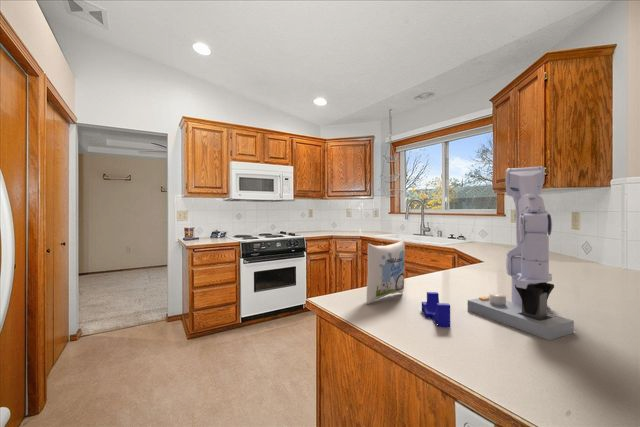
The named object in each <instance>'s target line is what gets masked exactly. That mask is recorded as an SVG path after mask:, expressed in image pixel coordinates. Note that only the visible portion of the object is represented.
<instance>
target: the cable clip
mask: <svg viewBox="0 0 640 427" xmlns="http://www.w3.org/2000/svg"><path fill="white" fill-rule="evenodd" d="M439 296H440V295H439V293H438V291H426V301H421V312H422V314H423V315H424V316H425V318H426V319H432V320H433V322H434V321H435V322H434V323H435V324H438V325H436V326H437V328H449V327H450V328H451V304H449V302H448V303H443V302H442V303H441V302H440V299H439V298H440V297H439Z"/></svg>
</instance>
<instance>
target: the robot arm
mask: <svg viewBox="0 0 640 427" xmlns="http://www.w3.org/2000/svg"><path fill="white" fill-rule="evenodd" d="M545 175H546V174H545V168H544V167H543V166H542V165H539V166H529V167H515V168H510V167H509V168H506V169H505V192H506V195H507V196H508V197H511V198H512V199H513V201H514V206H515V238H516V239H515V241H516V246H514V247H512V248H510V249H509V250H508V251H507V253H506V261H505V262H506V263H505V265H506V274H507V275H508V276H510V277H511V301H509V302H512V303H515V304H519V305H522V303H523V306H524V310H525V313H528V314H532V315H535V314H536V312H537V306H538V301H539V297H540V295H541V293H542V292H547V300H548V299H549V297H550V294H551V293H552V290H554V288H555V284H553V283H550V282H552V281H553V274H552V273H550V272H549V270H550V269H549V268H550V264H549V262H550V260H549V259H550V256H549V255H550V252H549V251H550V247H549V246H550V245H549V242H550V237H551V234H552V230H553V220H552V215H551V213H550V212H549V211H548V210H546V206H545V202H544V199H543V197H542V196H541V195H540V194H541V193H542V191H543V185H544V183H545V178H546V177H545ZM550 308H551V306H550V305H548V304H547V309H550Z"/></svg>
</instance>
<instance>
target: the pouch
mask: <svg viewBox="0 0 640 427" xmlns="http://www.w3.org/2000/svg"><path fill="white" fill-rule="evenodd" d="M405 252H406V245H405V239H402V240H400V241H397V242H396V243H391V244H388V245H373V244H371V243H367V256H366V257H367V262H366V263H367V277H366V278H367V279H366V305H370V304H371V303H373V302H375V301H376V300H378V299H381V298H384V297H386V296H389V295H390V294H391V295H392V294H397V293H398V294H403V293H404V291H405V261H406V260H405V259H406V258H405V257H406V255H405Z"/></svg>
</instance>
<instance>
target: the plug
mask: <svg viewBox="0 0 640 427" xmlns="http://www.w3.org/2000/svg"><path fill="white" fill-rule="evenodd" d="M547 305H548V299H547V292H542V293H541V295H540V297H539V301H538V306H537V312H536V314H535V315H532V314H528V313H525V310H524V306H523V303H522V315H523V316H526V317H529V318H532V319H535V320H538V321H542V320H546V319H547V313H548V308H547Z"/></svg>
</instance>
